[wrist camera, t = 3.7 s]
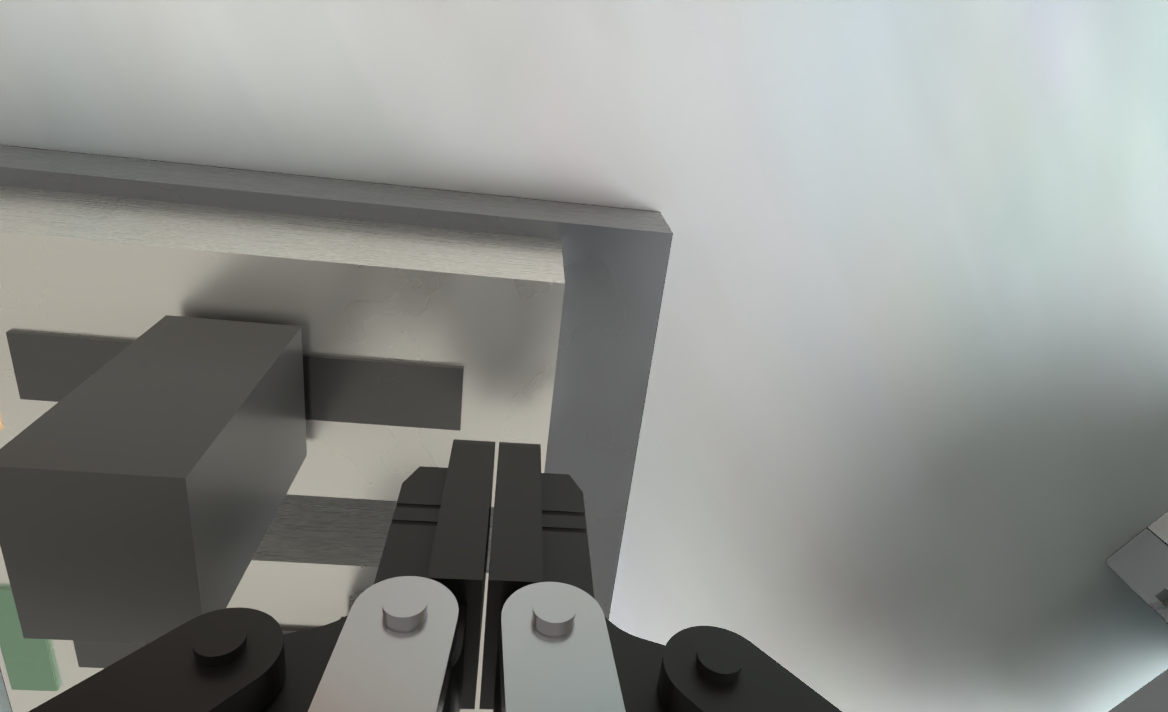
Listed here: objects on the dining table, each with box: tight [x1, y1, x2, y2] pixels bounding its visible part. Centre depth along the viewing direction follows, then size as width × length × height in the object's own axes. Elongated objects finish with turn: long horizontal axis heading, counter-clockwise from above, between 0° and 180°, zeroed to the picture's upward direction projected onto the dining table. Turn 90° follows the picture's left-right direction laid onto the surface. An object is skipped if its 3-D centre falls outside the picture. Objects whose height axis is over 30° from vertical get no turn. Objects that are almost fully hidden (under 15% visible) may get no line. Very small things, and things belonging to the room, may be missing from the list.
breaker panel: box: [0, 145, 673, 712], centre depth 17 cm, size 20×17×10 cm
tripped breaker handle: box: [0, 315, 307, 644], centre depth 12 cm, size 3×2×5 cm
